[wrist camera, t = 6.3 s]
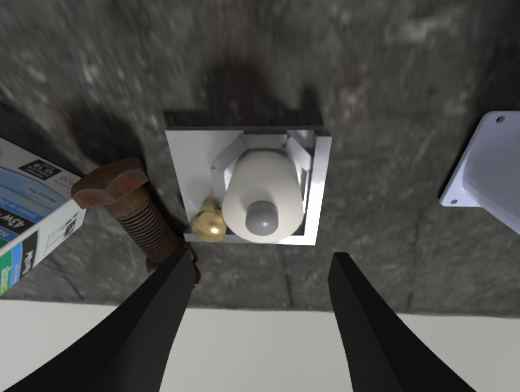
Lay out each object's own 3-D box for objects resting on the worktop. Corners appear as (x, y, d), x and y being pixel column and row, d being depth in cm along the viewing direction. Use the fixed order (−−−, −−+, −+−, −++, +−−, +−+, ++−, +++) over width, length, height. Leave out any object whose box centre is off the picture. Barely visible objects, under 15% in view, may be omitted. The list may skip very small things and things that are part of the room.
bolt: (192, 256, 29) (124, 153, 20) (220, 268, 26) (153, 154, 18) (156, 295, 25) (56, 189, 17) (184, 314, 22) (79, 197, 14)
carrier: (324, 125, 17) (335, 141, 14) (310, 225, 22) (316, 253, 19) (171, 126, 17) (149, 142, 14) (194, 222, 23) (182, 249, 20)
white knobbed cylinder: (302, 149, 17) (314, 191, 12) (291, 205, 19) (297, 257, 14) (234, 142, 17) (217, 181, 12) (233, 199, 19) (219, 249, 14)
